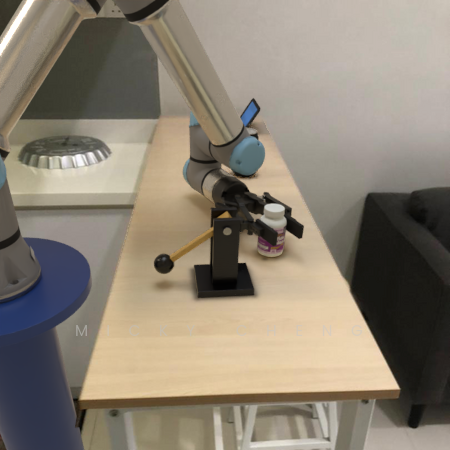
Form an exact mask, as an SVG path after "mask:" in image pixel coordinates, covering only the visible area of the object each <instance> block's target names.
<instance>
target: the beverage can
mask: <svg viewBox="0 0 450 450" xmlns="http://www.w3.org/2000/svg"><path fill="white" fill-rule="evenodd" d="M246 129H247V131H248V133H249V134H250V136H253V137H255V138H256V139H257V140H259V139H260V137H259V136H260V135H259V134H258V130H257V129H256V128H253V127H248V128H246ZM259 141H260V140H259ZM232 173H233V174H234V176H236V177H237V178H244V179H245V178H252V177H253V176H255V175H256V173H257V171H256V172H255V173H253V174H251V175H242V174H240V173H238V172H234V171H232Z"/></svg>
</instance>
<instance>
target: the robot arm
mask: <svg viewBox="0 0 450 450" xmlns="http://www.w3.org/2000/svg"><path fill="white" fill-rule="evenodd" d="M107 1H108V0H21V2H20V4H19V5H18V7H17V9H16V10H15V12H14V13H13V15H12V17H11V18H10V20H9V21H8V22H7V25H6V26H5V28H4V30H3V32H2V33H1V35H0V304H2V303H6V302H9V301H12V300H15V299H17V298H20V297H22V296H23V295H25V294H27V293H29V292H30V291H31V290H33V289H34V288H35V287H36V286H37V285H38V283H39V282H40V280H41V277H42V272H41V267H40V264H39V262H38V260H37V258H36V257H35V255H34V251H33V249H32V248H31V246H30V248H29V246H28V245H27V243H26V242H25V240H24V239H23V235H22V233H21V228H20V225H19V224H20V223H19V221H18V217H17V211H16V208H15V205H14V201H13V197H12V193H11V188H10V185H9V181H8V177H7V176H8V175H7V167H6V164H5V161H6V159H7V158H8V156H9V154H10V153H11V151H12V147H11V143H10V140H9V137H10V135H11V133H12V132H13V130H14V128H15V127H16V126H17V124H18V122H19V121H20V119H21V117H22V115H24V113H25V111H26V110H27V108H28V106H29V105H30V104H31V101H33V99H34V97H35V95H36V94H37V93H38V91H39V89H40V87H41V86H42V85H43V83H44V81H45V79H46V78H47V76H48V75H49V73H50V71H51V70H52V68H53V67H54V65H55V64H56V62H57V60H58V59H59V57H60V56H61V54H62V53H63V51H64V49H65V48H66V46H67V45H68V43H69V42H70V40H71V39H72V38H73V36H74V34H75V33H76V31H77V29H78V27H79V26H80V24H81V23H82V21H84V20H87V19H88V20H89V19H96V18H97V17H98V15H99V13H100V12H101V10H102V8H103V7H104V6H105V4H106V2H107ZM111 1H112V2H113V3H114V4H115V5H116V6H117V7H118V8H119V11H120V12H121V13H122V14H123V16H124V18H125V19H126V20H127V22H128V23H129V24H131V25H135V26H138V28H139V30H140V31H141V33H142V34H143V36H144V38H145V39H146V41H147V42H148V44H149V46H150V47H151V49H152V50H153V52H154V54H155V55H156V57H157V58H158V60H159V62H160V63H161V65H162V67H163V68H164V70H165V71H166V73H167V74H168V76H169V77H170V79H171V81H172V82H173V84H174V85H175V86H174V87H176V89H177V91H178V92H179V94H180V96H181V97H182V98H183V100H184V102H185V103H186V105H187V107H188V108H189V110H190V112H189V124H188V130H189V131H188V133H189V158H188V159H187V160H186V161H185V163H184V165H183V167H182V177H183V179H184V181H185V182H186V183H187V184H188V185H189V187H190V188H191V189H193V190H194V191H196V192H198V193H199V194H201V196H203V197H204V198H206V199H207V200H208V201H210V202H211V203H212V204H214V208H221V207H236V208H237V217H240V220H241V222H240V233H243V232H244V231H246V235H248V236H252V235H255V236H256V237H258V236H259V237H262V238H263V239H264V240H266V241H267V242H268V243H270V244H271V245H272V246H276V245H277V237H278V232H277V231H275V230H274V229H272V228H271V227H270V226H268V225H267V224H265V223H264V222H263V221H261V220H260V218H254V217H253V216H252V214H253V215H256V216H257V215H260V216H262V215H264V207H265V205H267V204H280V205H282V206H284V208H285V214H284V217H285V218H286V221H287V225H286V232H288V233H290V234H291V235H292V236H293V237H296V238H297V239H298V240H301V239H303V236H304V230H305V225H304V224H303V223H301V222H299V221H298V220H297V219H296V218H294V217H293V216H292V213H293V208H292V207H290V206H289V205H287V204H286V203H284V202H282V201H281V200H279V199H277V198H275V197H273V196H272V195H271V193H270V192H268V191H264V192H263V194H262V195H258V194H256V193H254V192H251V191H250V189H249V187H248V186H247V185H246V183H244V182H243V181H241V180H240V179H239V178H238V177H235V175H232V174H231V173H229V172H228V171H226V170H225V169H223V167H222V165H223V166H224V167H227V168H228V169H230V171H232V172H233V171H234V172H238V173H240V174H242V175H251V174H253V173H255V172H256V173H257V171H259V169H261V168H262V166H263V164H264V161H265V160H266V149H265V148H266V147H265V145H264V144H263V143H262V141H260V140H257V139H256V138H255V137H253V136H250V134H249V133H248V131H247V129H246V127H245V125H244V124H243V122H242V120H241V118H240V116H241V115H240V114H239V112H238V110H237V108H236V106H235V105H234V103H233V101H232V99H231V97H230V95H229V92H228V90H227V89H226V88H225V85H224V83H223V82H222V79H221V78H220V76H219V74H218V72H217V70H216V68H215V67H214V64H213V62H212V61H211V59H210V57H209V55H208V53H207V52H206V49H205V48H204V46H203V44H202V41H201V40H200V38H199V36H198V34H197V32H196V30H195V29H194V26H193V24H192V22H191V20H190V19H189V16H188V15H187V13H186V11H185V9H184V7H183V5H182V3H181V1H180V0H111ZM256 173H255V174H256Z"/></svg>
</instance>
